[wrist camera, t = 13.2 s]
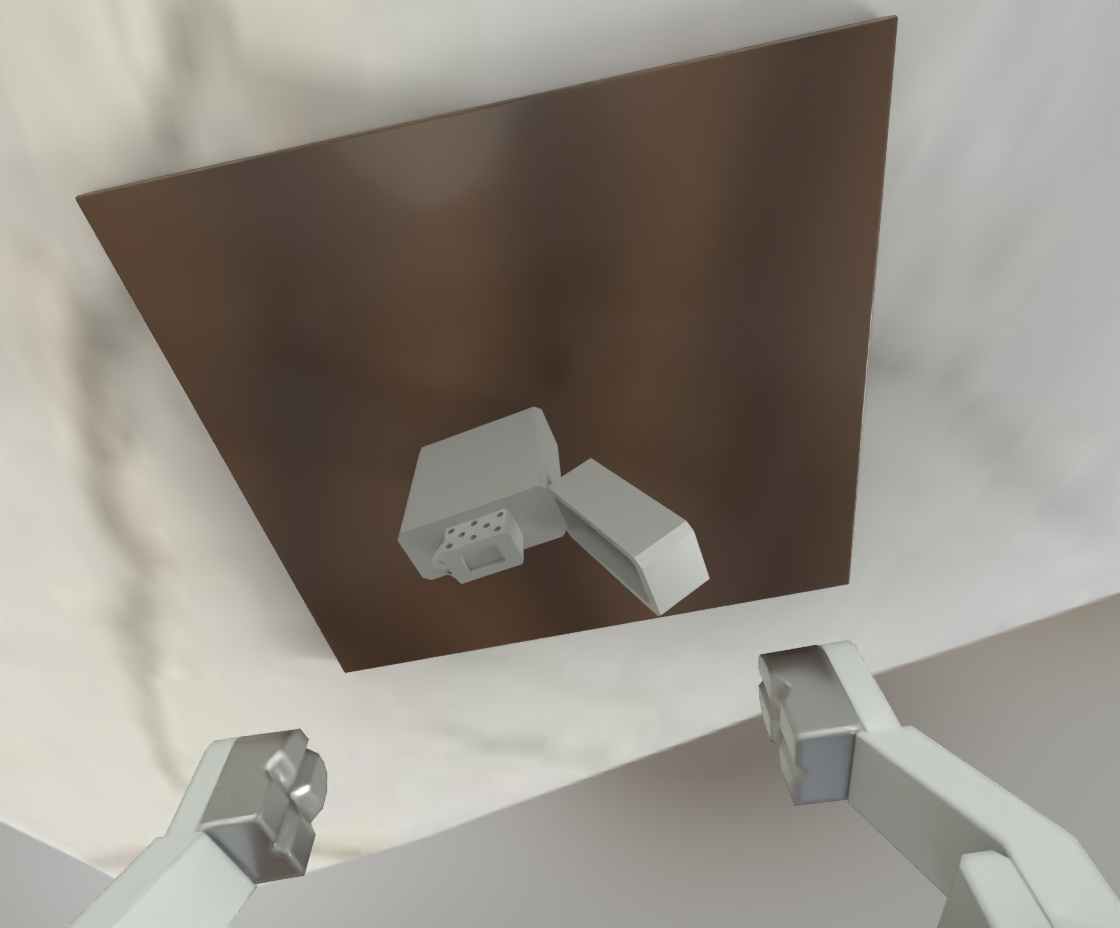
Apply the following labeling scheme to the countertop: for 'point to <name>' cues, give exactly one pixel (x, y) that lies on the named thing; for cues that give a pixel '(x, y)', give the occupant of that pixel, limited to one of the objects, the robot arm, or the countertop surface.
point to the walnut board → (539, 327)
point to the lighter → (540, 513)
